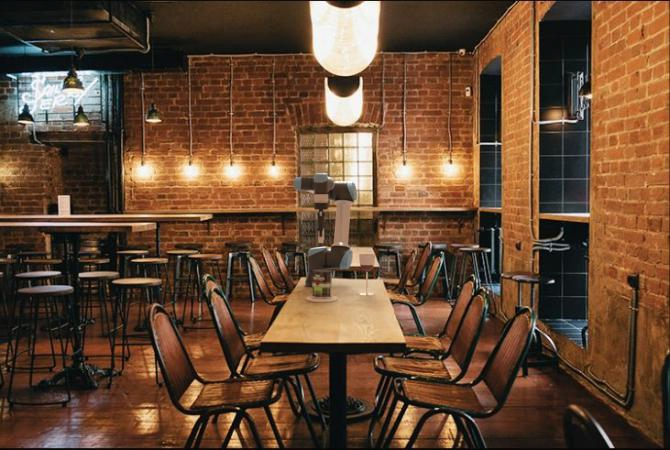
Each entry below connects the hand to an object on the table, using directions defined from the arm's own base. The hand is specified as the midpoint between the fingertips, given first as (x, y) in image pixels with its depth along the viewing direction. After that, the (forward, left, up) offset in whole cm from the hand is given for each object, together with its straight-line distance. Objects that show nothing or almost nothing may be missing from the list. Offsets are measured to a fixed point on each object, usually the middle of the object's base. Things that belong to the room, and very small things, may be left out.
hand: (321, 241), depth 323 cm
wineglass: (-9, +25, -30) cm, 40 cm away
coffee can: (+11, +1, -29) cm, 31 cm away
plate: (+11, +1, -30) cm, 32 cm away
